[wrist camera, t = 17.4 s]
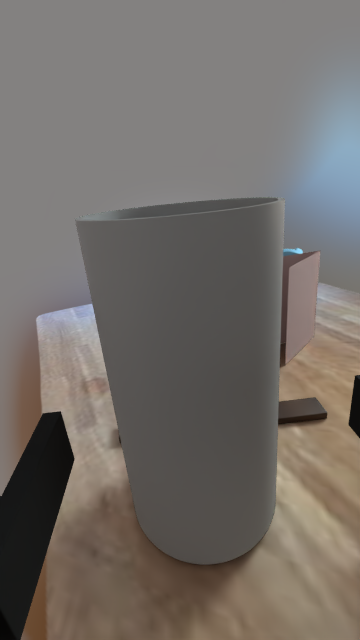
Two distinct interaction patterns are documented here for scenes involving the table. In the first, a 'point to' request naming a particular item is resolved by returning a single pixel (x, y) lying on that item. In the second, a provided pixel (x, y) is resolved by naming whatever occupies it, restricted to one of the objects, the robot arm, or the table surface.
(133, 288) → the cylinder vase
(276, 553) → the table surface
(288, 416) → the ruler
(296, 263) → the greeting card
